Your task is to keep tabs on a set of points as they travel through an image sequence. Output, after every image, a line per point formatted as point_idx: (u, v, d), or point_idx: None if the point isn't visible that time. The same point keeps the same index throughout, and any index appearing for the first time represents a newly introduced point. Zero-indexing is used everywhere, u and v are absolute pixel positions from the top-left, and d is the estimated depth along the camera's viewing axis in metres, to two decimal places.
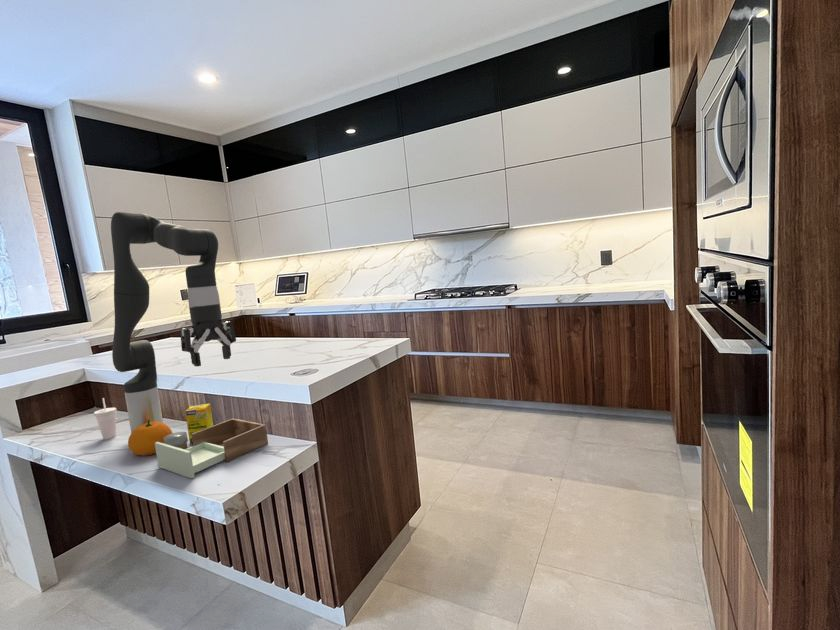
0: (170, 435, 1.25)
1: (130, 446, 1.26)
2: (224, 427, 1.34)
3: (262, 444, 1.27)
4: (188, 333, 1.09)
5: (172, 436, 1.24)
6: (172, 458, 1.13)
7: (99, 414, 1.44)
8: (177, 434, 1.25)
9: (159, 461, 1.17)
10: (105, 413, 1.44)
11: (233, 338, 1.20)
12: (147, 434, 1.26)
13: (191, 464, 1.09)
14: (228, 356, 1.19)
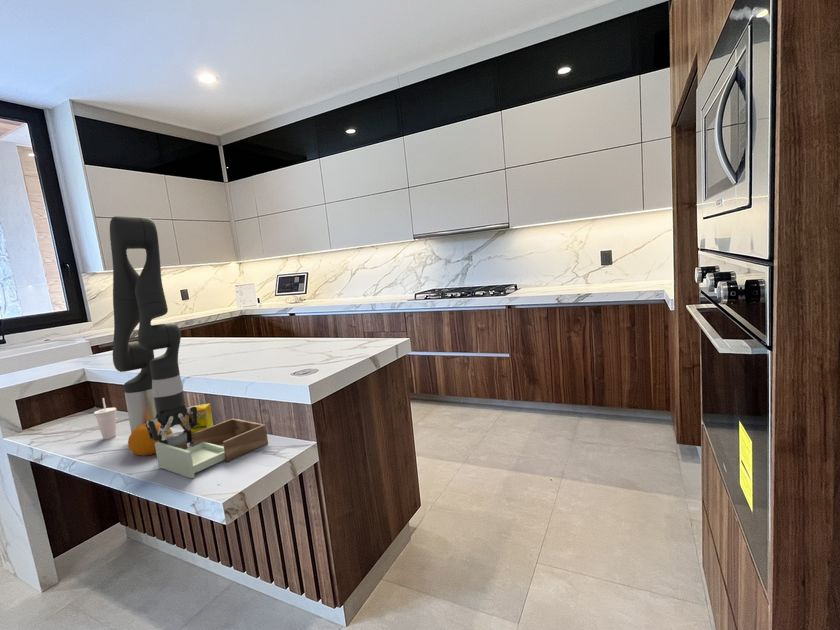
0: (170, 435, 1.25)
1: (130, 446, 1.26)
2: (224, 427, 1.34)
3: (262, 444, 1.27)
4: (153, 424, 1.18)
5: (172, 436, 1.24)
6: (172, 458, 1.13)
7: (99, 414, 1.44)
8: (177, 434, 1.25)
9: (159, 461, 1.17)
10: (105, 413, 1.44)
11: (194, 423, 1.28)
12: (147, 434, 1.26)
13: (191, 464, 1.09)
14: (189, 440, 1.27)
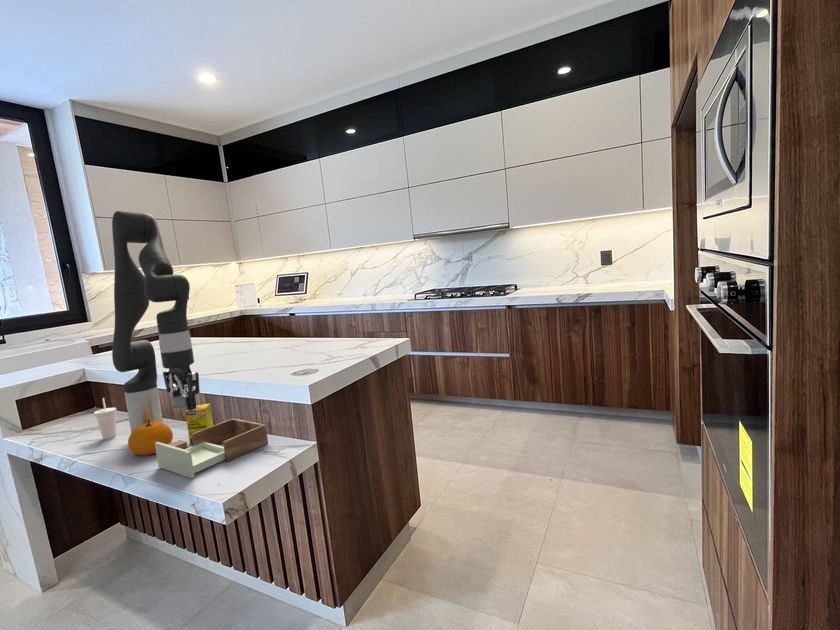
0: None
1: (130, 446, 1.26)
2: (224, 427, 1.34)
3: (262, 444, 1.27)
4: (164, 375, 1.18)
5: (180, 395, 1.16)
6: (172, 458, 1.13)
7: (99, 414, 1.44)
8: None
9: (159, 461, 1.17)
10: (105, 413, 1.44)
11: (189, 391, 1.12)
12: (147, 434, 1.26)
13: (191, 464, 1.09)
14: (187, 408, 1.14)
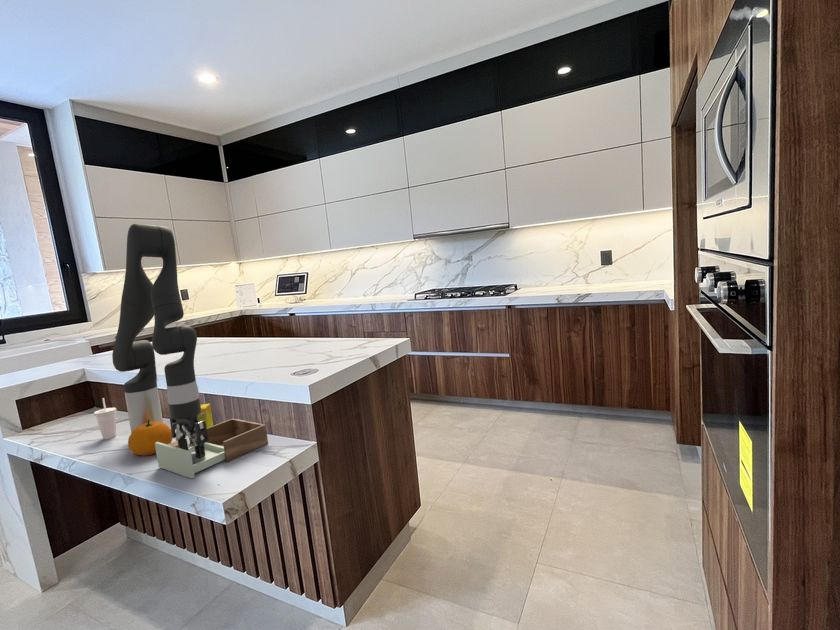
0: None
1: (130, 446, 1.26)
2: (224, 427, 1.34)
3: (262, 444, 1.27)
4: (171, 422, 1.19)
5: None
6: (172, 458, 1.13)
7: (99, 414, 1.44)
8: (194, 452, 1.17)
9: (159, 461, 1.17)
10: (105, 413, 1.44)
11: (198, 441, 1.13)
12: (147, 434, 1.26)
13: (191, 464, 1.09)
14: (196, 456, 1.15)
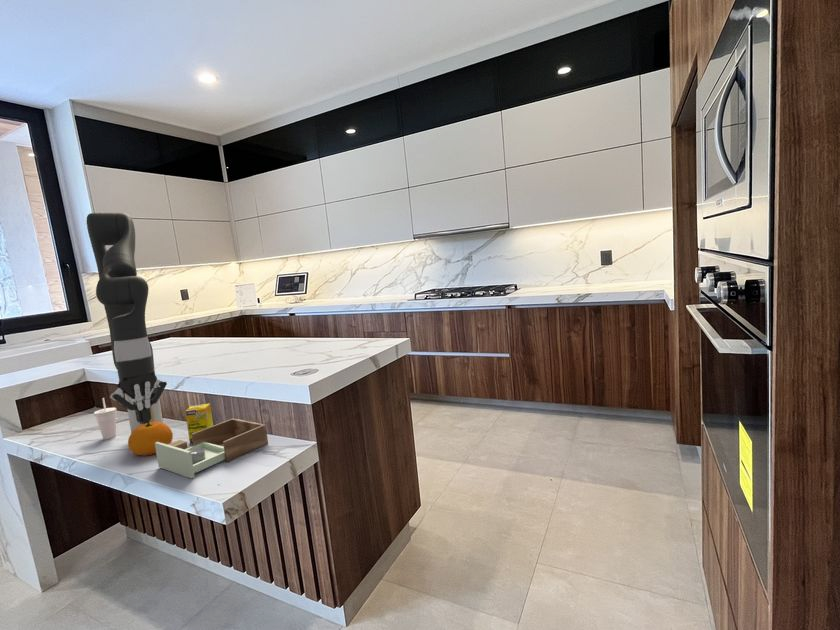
0: (198, 449, 1.20)
1: (130, 446, 1.26)
2: (224, 427, 1.34)
3: (262, 444, 1.27)
4: (119, 397, 1.02)
5: None
6: (172, 458, 1.13)
7: (99, 414, 1.44)
8: (194, 452, 1.17)
9: (159, 461, 1.17)
10: (105, 413, 1.44)
11: (155, 399, 1.09)
12: (147, 434, 1.26)
13: (191, 464, 1.09)
14: (147, 420, 1.07)
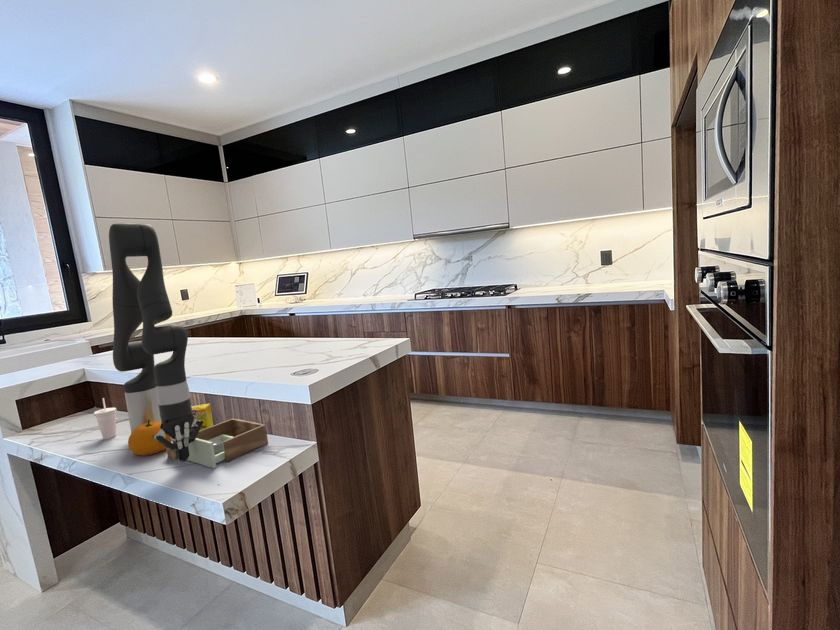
0: (218, 441, 1.25)
1: (130, 446, 1.26)
2: (224, 427, 1.34)
3: (262, 444, 1.27)
4: (161, 438, 1.10)
5: None
6: (194, 449, 1.18)
7: (99, 414, 1.44)
8: (214, 444, 1.22)
9: None
10: (105, 413, 1.44)
11: (193, 437, 1.17)
12: (147, 434, 1.26)
13: (214, 454, 1.14)
14: (186, 458, 1.15)
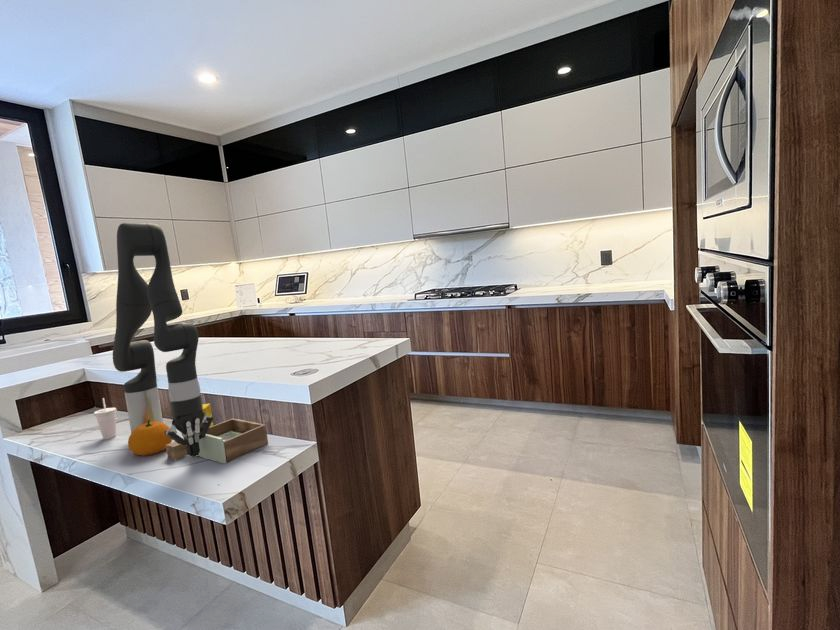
0: (227, 437, 1.27)
1: (130, 446, 1.26)
2: (224, 427, 1.34)
3: (262, 444, 1.27)
4: (173, 434, 1.13)
5: None
6: (204, 444, 1.21)
7: (99, 414, 1.44)
8: (224, 440, 1.25)
9: None
10: (105, 413, 1.44)
11: (203, 433, 1.19)
12: (147, 434, 1.26)
13: (224, 450, 1.17)
14: (196, 453, 1.18)
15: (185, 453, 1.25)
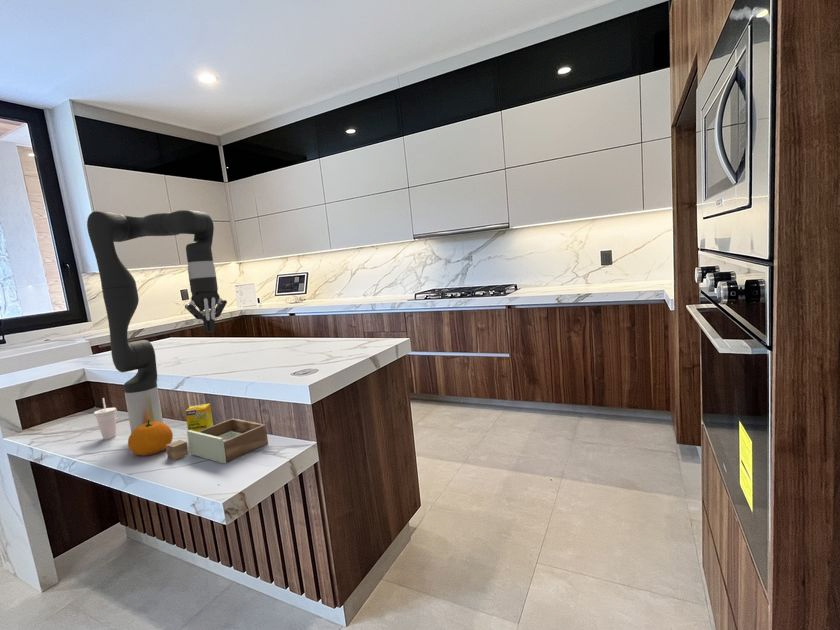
0: (228, 437, 1.27)
1: (130, 446, 1.26)
2: (224, 427, 1.34)
3: (262, 444, 1.27)
4: (193, 307, 1.26)
5: None
6: (204, 444, 1.21)
7: (99, 414, 1.44)
8: (224, 440, 1.25)
9: (191, 448, 1.25)
10: (105, 413, 1.44)
11: (218, 313, 1.33)
12: (147, 434, 1.26)
13: (224, 450, 1.17)
14: (213, 329, 1.32)
15: (185, 453, 1.25)
